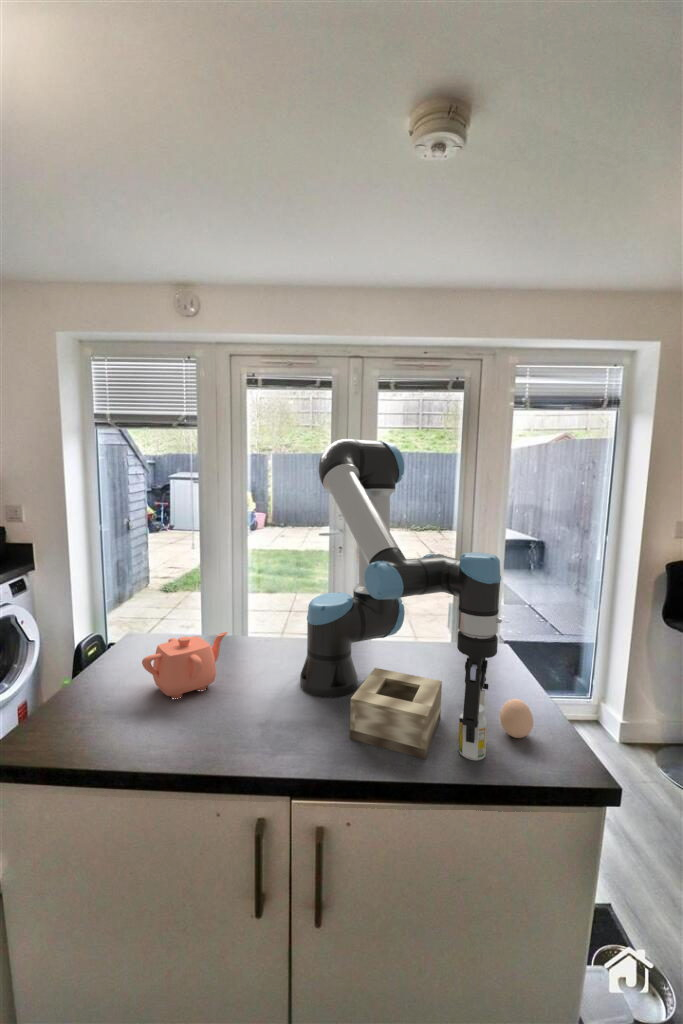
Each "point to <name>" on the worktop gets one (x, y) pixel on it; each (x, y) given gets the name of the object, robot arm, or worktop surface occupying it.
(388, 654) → the worktop surface
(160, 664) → the teapot
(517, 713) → the egg
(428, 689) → the drop box
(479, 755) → the supplement bottle
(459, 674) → the worktop surface
